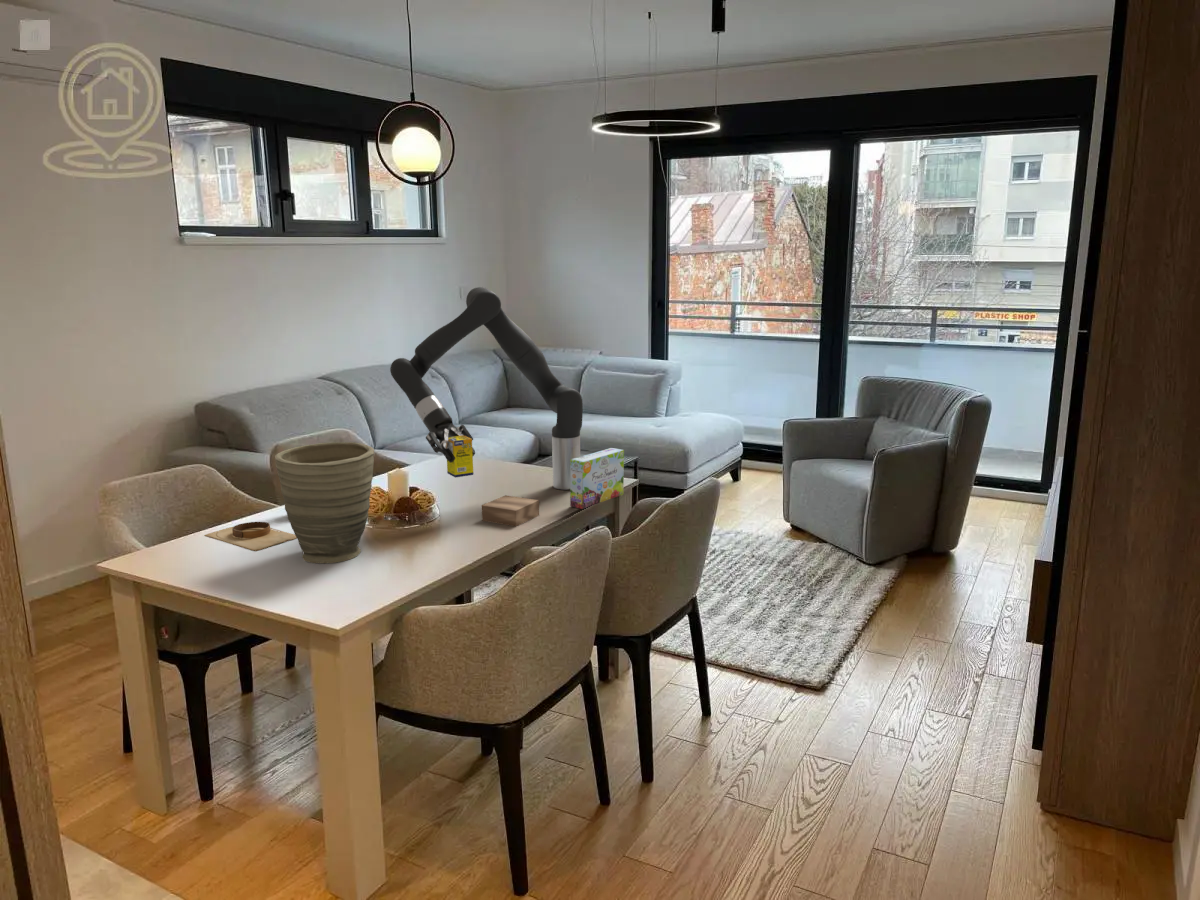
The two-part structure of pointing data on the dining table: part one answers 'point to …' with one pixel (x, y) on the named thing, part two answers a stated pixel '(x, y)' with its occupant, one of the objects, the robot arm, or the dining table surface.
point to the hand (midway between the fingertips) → (463, 458)
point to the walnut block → (510, 510)
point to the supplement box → (460, 456)
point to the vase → (327, 497)
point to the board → (252, 536)
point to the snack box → (596, 477)
